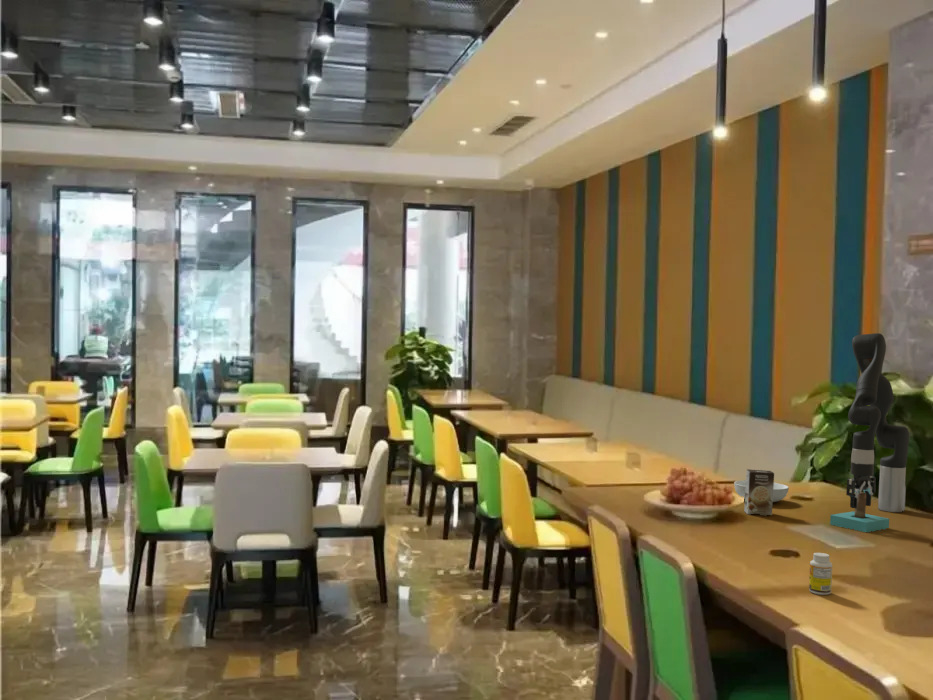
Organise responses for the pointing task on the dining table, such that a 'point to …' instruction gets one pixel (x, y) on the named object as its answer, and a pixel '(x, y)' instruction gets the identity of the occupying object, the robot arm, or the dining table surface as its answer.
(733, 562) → the dining table surface
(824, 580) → the supplement bottle
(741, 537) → the dining table surface
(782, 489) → the serving bowl
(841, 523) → the hole block
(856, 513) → the peg
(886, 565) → the dining table surface
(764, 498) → the coffee box
